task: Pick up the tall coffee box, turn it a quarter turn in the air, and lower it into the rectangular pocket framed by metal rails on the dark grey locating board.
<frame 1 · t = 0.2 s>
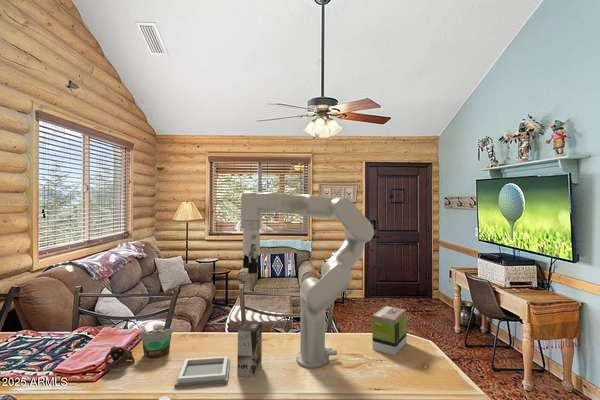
hand: (249, 270, 121), 35 cm above the table, tool pointing down, fingers open, 9 cm apart
coffee box: (249, 370, 117), on the table
tea box: (389, 346, 137), on the table
locating board: (204, 373, 114), on the table
food container: (157, 356, 127), on the table
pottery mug: (118, 366, 119), on the table
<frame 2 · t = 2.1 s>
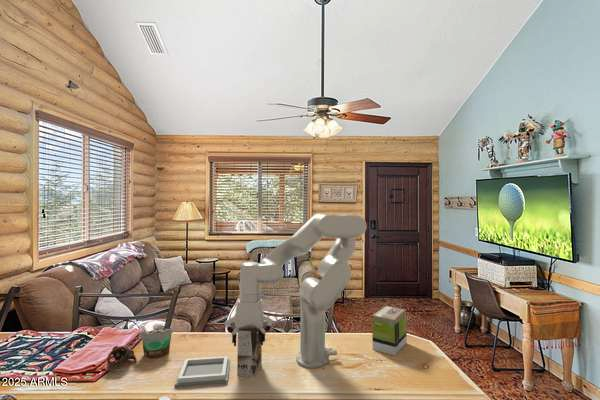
hand: (248, 344, 117), 10 cm above the table, tool pointing down, fingers open, 9 cm apart
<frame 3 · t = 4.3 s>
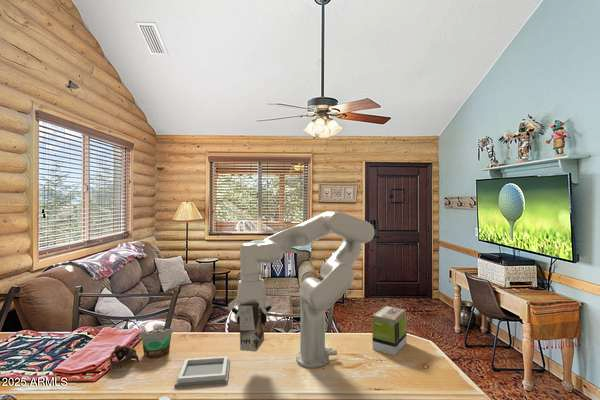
hand: (252, 324, 117), 16 cm above the table, tool pointing down, fingers closed on coffee box, 8 cm apart
coffee box: (252, 346, 117), point 9 cm above the table, touching gripper
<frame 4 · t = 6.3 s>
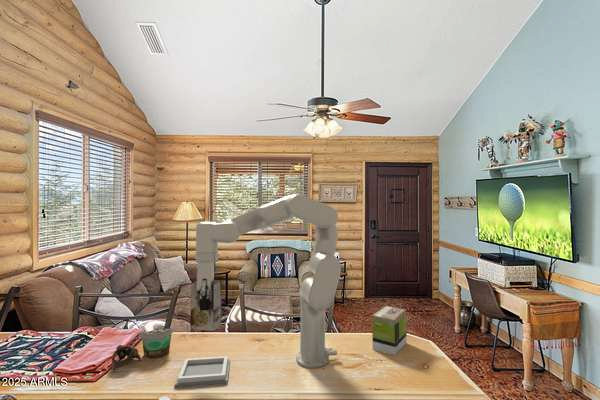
hand: (206, 305, 115), 24 cm above the table, tool pointing down, fingers closed on coffee box, 8 cm apart
coffee box: (205, 327, 115), point 16 cm above the table, touching gripper
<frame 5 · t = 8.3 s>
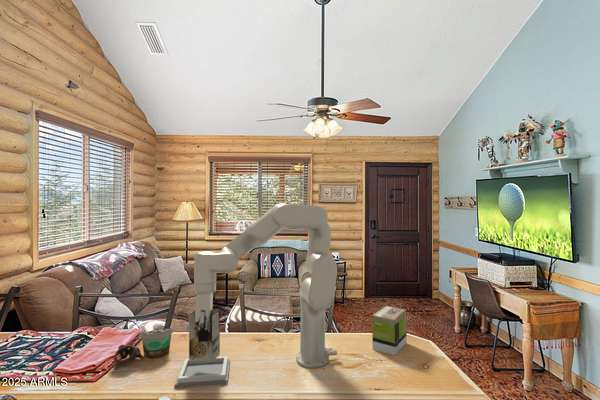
hand: (204, 335, 114), 13 cm above the table, tool pointing down, fingers closed on coffee box, 8 cm apart
coffee box: (204, 357, 115), point 6 cm above the table, touching gripper
when the fingers open (9 cm above the table, at t = 10.2 s): coffee box stays where it is, resting on locating board.
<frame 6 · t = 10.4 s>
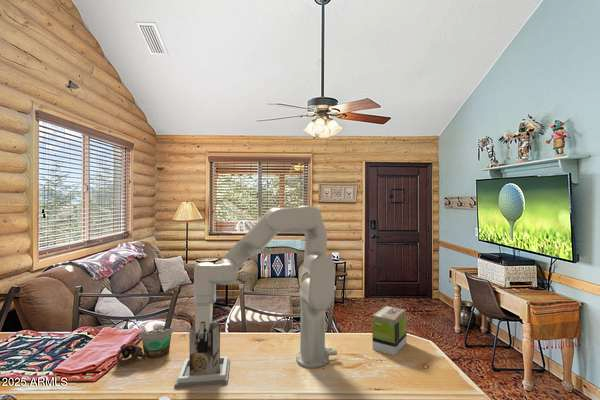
hand: (204, 346, 114), 10 cm above the table, tool pointing down, fingers open, 9 cm apart
coffee box: (204, 371, 114), point 1 cm above the table, touching locating board
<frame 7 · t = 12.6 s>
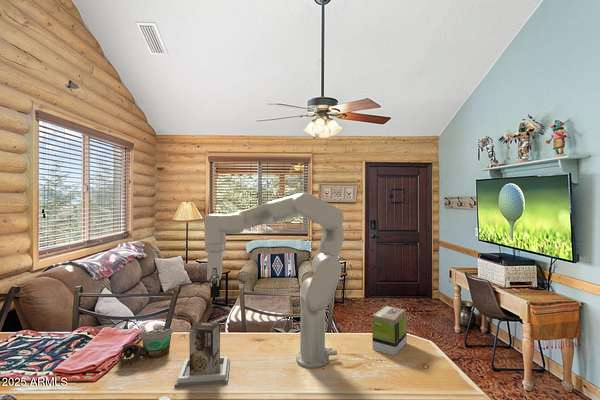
hand: (216, 293, 119), 27 cm above the table, tool pointing down, fingers open, 9 cm apart
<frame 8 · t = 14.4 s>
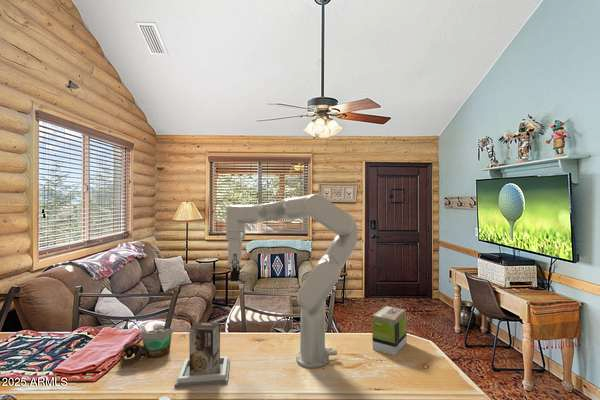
hand: (235, 278, 130), 30 cm above the table, tool pointing down, fingers open, 9 cm apart
at the end: coffee box 0.3 cm off-centre on the locating board, point 0.8 cm above the locating board's base; coffee box tilted 0°; the gripper is holding nothing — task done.
